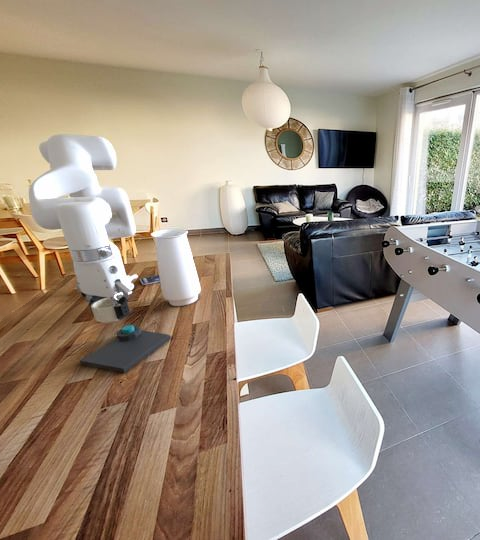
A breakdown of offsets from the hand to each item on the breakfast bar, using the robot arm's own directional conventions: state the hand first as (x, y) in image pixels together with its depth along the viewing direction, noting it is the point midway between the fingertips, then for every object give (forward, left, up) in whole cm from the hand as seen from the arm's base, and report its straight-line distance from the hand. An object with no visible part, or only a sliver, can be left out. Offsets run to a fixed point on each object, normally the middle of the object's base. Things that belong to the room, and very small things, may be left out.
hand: (111, 314), depth 77 cm
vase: (-34, -9, -15) cm, 38 cm away
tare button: (-8, -6, -12) cm, 16 cm away
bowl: (0, 0, -1) cm, 1 cm away
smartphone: (-49, -33, -15) cm, 61 cm away
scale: (-3, -2, -14) cm, 15 cm away
